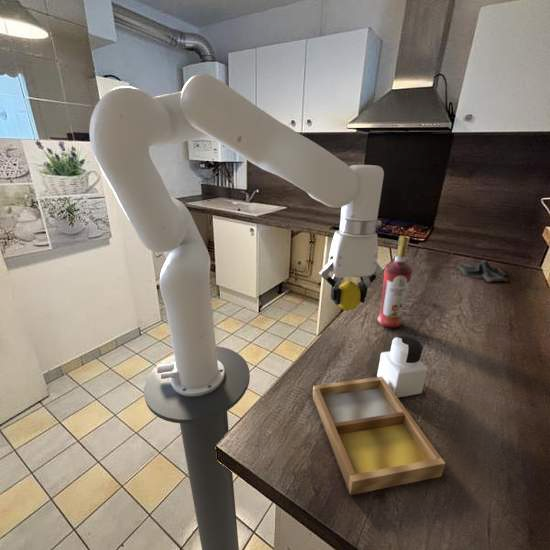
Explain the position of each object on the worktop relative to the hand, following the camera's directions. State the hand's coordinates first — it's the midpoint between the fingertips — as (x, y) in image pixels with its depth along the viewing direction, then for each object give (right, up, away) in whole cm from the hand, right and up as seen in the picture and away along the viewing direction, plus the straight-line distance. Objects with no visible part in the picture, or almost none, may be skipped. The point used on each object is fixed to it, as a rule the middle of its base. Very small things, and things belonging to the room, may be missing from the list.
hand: (347, 300), depth 69 cm
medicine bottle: (+11, -19, -2) cm, 22 cm away
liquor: (+18, -9, +21) cm, 29 cm away
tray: (0, -24, -14) cm, 28 cm away
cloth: (+75, +7, +60) cm, 97 cm away
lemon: (0, -3, +1) cm, 3 cm away
